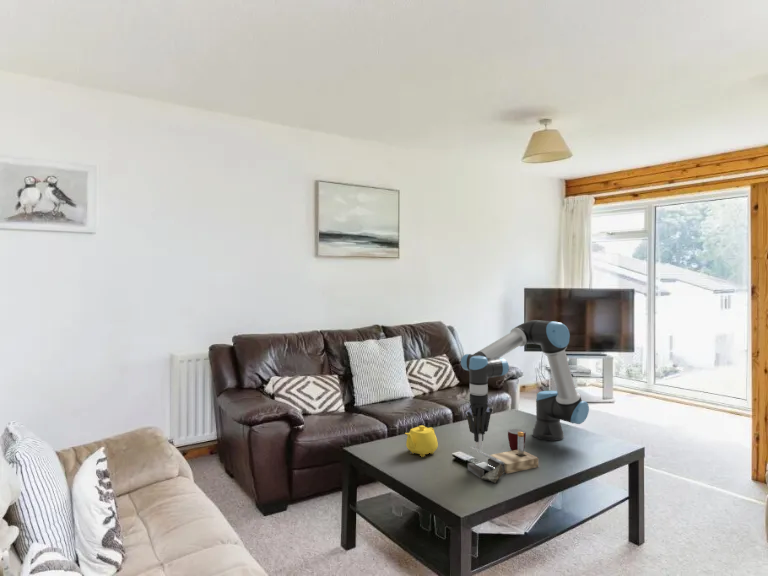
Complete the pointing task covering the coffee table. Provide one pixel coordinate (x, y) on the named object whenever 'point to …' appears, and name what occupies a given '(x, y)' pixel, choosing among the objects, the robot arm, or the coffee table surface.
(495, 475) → the rock sample
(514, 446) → the mug
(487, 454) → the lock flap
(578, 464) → the coffee table surface
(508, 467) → the block
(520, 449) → the pin
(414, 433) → the teapot
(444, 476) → the coffee table surface
